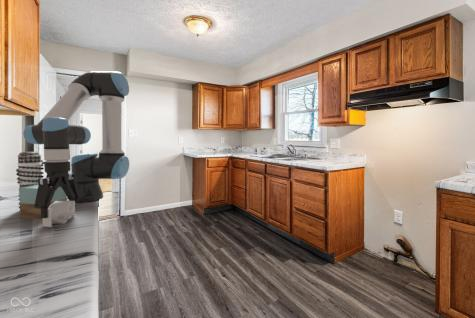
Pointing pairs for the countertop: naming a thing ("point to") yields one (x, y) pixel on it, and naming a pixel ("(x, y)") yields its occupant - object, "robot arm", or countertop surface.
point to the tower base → (32, 210)
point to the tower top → (30, 192)
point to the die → (61, 212)
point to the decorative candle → (29, 169)
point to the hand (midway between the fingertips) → (60, 221)
